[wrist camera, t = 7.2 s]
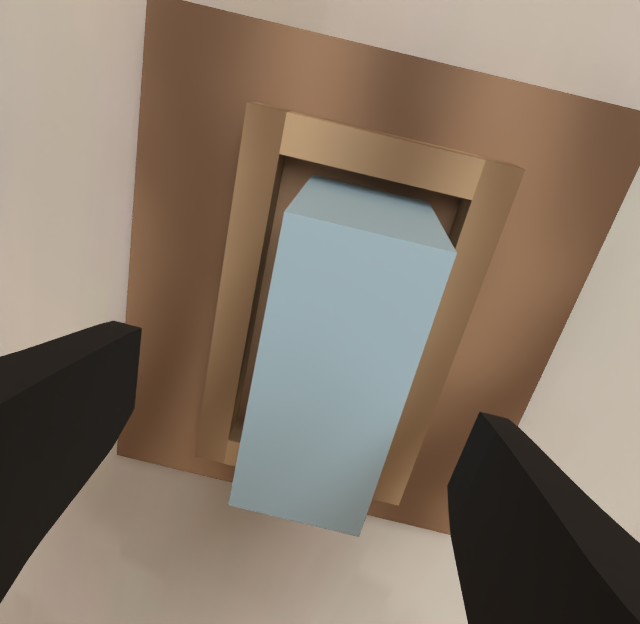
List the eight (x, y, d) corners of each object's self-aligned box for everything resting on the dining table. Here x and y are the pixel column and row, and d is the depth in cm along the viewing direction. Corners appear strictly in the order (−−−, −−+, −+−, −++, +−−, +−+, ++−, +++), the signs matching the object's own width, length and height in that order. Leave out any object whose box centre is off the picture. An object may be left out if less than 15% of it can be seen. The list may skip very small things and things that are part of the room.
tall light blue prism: (266, 395, 20) (228, 505, 15) (312, 174, 17) (284, 211, 11) (362, 418, 20) (359, 537, 15) (428, 202, 17) (456, 252, 11)
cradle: (126, 440, 23) (100, 477, 21) (160, -3, 16) (125, -19, 14) (461, 520, 23) (471, 566, 21) (646, 114, 16) (691, 118, 14)
